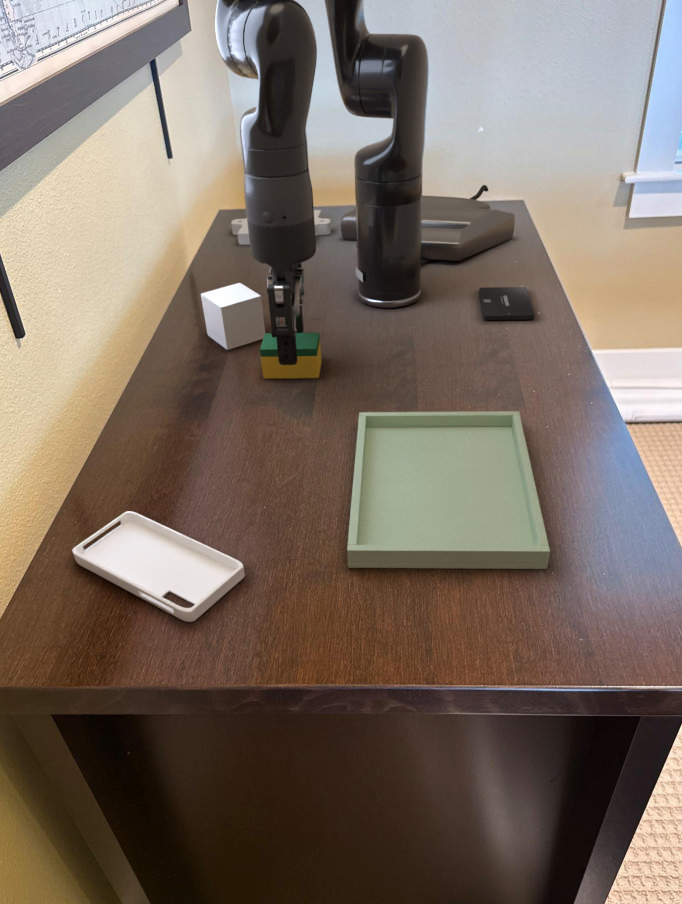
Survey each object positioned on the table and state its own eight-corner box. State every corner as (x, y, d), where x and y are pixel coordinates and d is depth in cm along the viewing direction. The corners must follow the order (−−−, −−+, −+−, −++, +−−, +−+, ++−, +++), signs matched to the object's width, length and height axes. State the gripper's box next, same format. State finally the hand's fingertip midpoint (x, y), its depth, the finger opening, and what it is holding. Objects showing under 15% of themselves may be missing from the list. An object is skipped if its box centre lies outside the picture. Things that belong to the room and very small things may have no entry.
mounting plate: (335, 220, 144) (334, 209, 143) (325, 244, 134) (325, 233, 133) (241, 220, 146) (239, 210, 145) (224, 244, 136) (223, 233, 135)
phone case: (248, 574, 69) (131, 519, 76) (246, 563, 68) (128, 508, 75) (190, 625, 64) (72, 561, 71) (187, 613, 64) (68, 550, 70)
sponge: (268, 361, 101) (264, 333, 98) (321, 361, 100) (319, 332, 98) (263, 378, 97) (259, 349, 95) (318, 378, 97) (316, 348, 94)
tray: (359, 428, 87) (359, 412, 86) (517, 427, 86) (519, 410, 85) (348, 568, 69) (346, 550, 68) (547, 569, 68) (550, 551, 67)
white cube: (227, 350, 104) (220, 307, 100) (207, 335, 108) (200, 293, 104) (266, 337, 107) (261, 295, 103) (245, 323, 110) (239, 282, 107)
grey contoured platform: (472, 176, 144) (539, 220, 123) (470, 206, 148) (535, 254, 127) (327, 194, 139) (371, 243, 118) (328, 224, 143) (371, 277, 122)
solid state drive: (483, 320, 108) (484, 315, 107) (478, 291, 115) (479, 287, 115) (534, 319, 107) (535, 314, 107) (526, 291, 115) (526, 286, 115)
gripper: (308, 232, 81) (318, 374, 91) (318, 194, 92) (325, 324, 102) (237, 234, 81) (254, 375, 91) (255, 196, 92) (268, 325, 102)
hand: (292, 348), depth 96 cm, fingers open, 8 cm apart
